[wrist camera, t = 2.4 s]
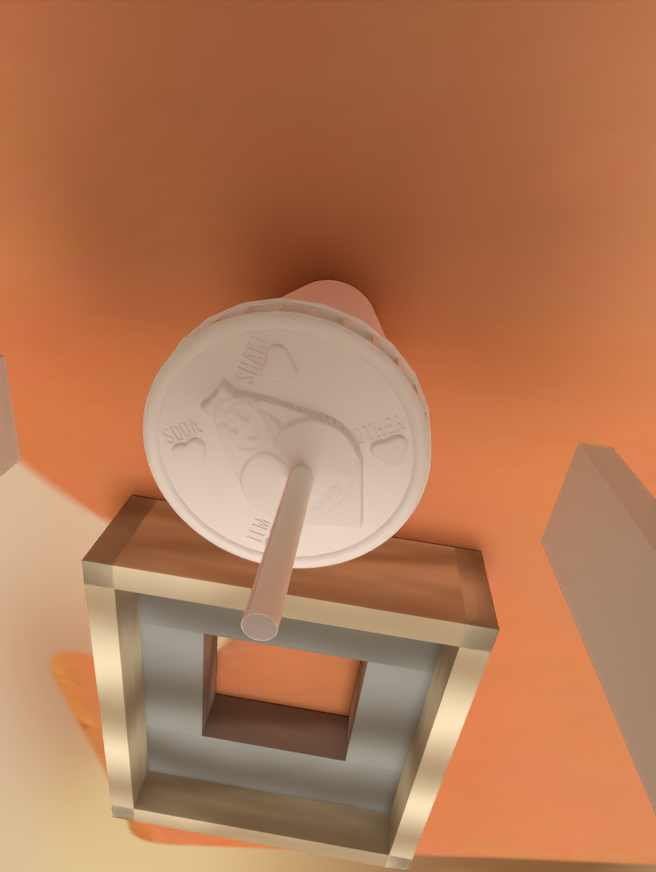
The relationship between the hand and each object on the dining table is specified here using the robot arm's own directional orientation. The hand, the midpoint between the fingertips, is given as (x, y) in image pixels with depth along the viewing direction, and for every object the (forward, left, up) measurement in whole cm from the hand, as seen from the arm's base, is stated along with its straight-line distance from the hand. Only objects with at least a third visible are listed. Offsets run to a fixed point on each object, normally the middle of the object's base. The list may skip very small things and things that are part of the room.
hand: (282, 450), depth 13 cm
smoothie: (0, 0, -9) cm, 9 cm away
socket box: (+18, 0, -9) cm, 20 cm away
